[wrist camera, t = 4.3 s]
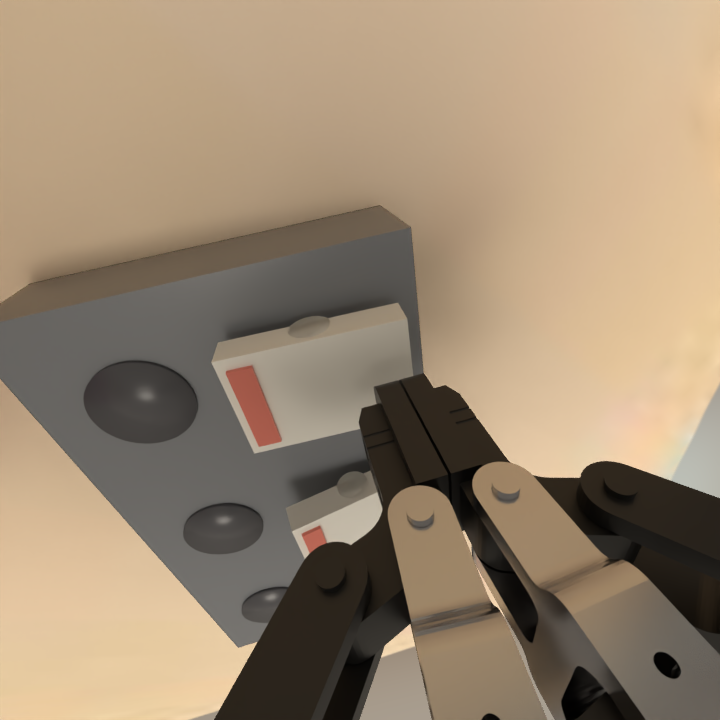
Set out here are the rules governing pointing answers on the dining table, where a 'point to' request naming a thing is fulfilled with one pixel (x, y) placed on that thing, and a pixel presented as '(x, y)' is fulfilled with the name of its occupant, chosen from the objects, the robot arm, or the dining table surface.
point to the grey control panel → (201, 392)
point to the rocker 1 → (312, 374)
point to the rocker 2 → (336, 513)
